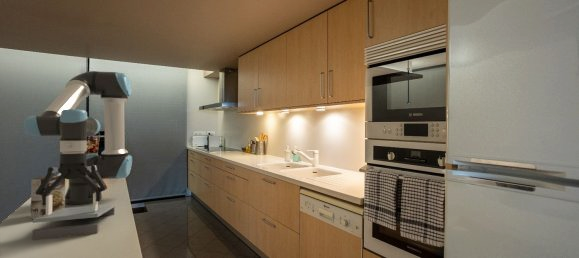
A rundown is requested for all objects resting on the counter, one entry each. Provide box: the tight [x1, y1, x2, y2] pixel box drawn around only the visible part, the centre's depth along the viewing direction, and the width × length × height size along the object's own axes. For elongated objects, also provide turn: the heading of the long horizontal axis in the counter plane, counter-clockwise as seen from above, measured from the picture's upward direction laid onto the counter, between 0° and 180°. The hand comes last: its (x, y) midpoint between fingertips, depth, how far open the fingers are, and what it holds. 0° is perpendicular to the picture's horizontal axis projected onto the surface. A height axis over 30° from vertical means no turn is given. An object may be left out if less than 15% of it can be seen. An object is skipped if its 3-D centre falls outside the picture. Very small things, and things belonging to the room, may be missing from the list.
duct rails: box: [31, 206, 116, 241], centre depth 103 cm, size 23×18×3 cm
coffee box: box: [30, 175, 66, 220], centre depth 114 cm, size 9×6×16 cm
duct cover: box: [32, 203, 115, 224], centre depth 103 cm, size 22×18×1 cm
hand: (72, 212), depth 97 cm, fingers open, 13 cm apart
